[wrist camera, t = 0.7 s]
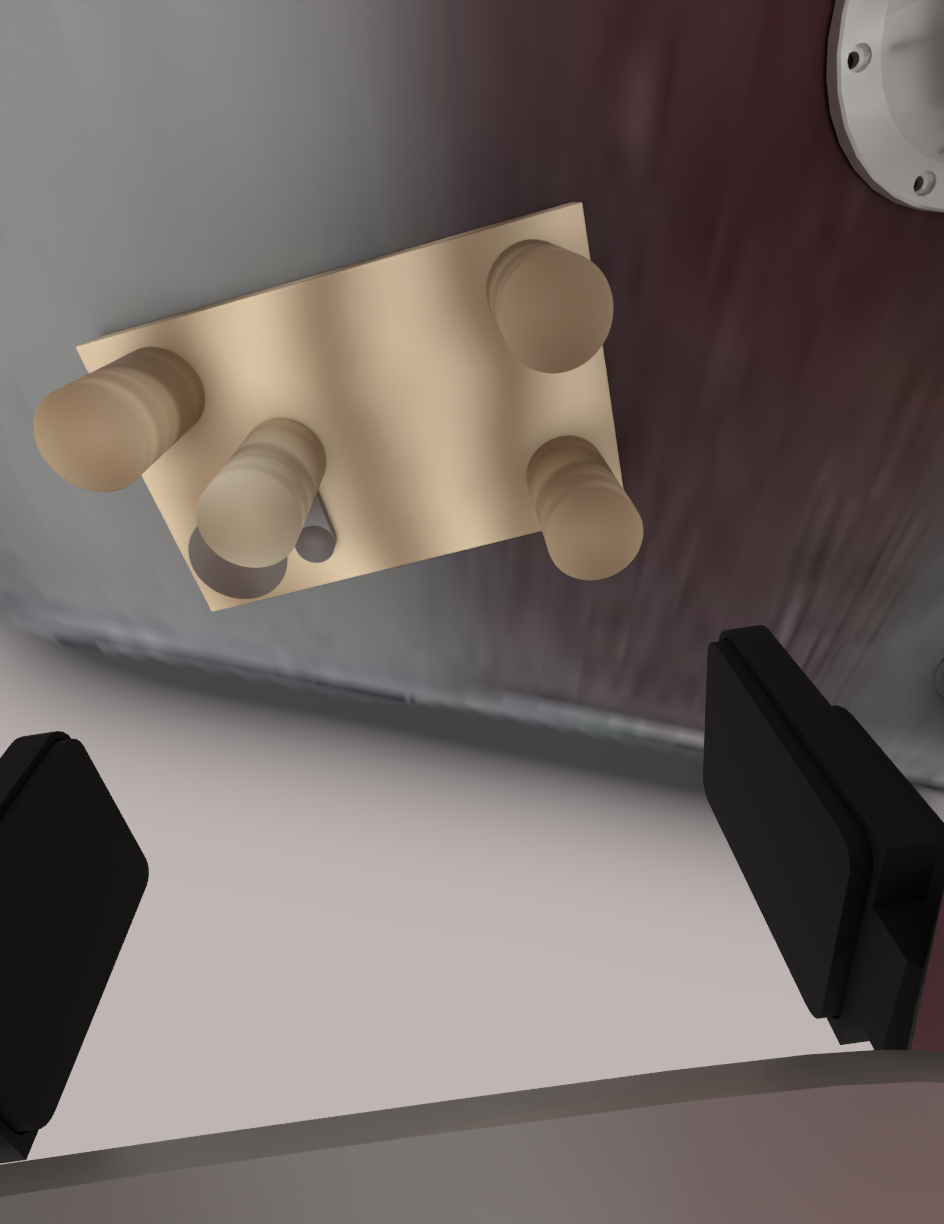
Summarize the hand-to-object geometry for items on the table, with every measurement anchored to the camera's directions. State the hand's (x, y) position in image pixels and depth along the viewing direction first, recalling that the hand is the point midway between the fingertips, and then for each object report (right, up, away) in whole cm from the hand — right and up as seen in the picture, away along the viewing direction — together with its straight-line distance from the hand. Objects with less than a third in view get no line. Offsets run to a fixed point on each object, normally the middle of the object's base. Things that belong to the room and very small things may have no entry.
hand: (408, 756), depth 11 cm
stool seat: (-4, +11, +23) cm, 25 cm away
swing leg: (-7, +8, +21) cm, 24 cm away
